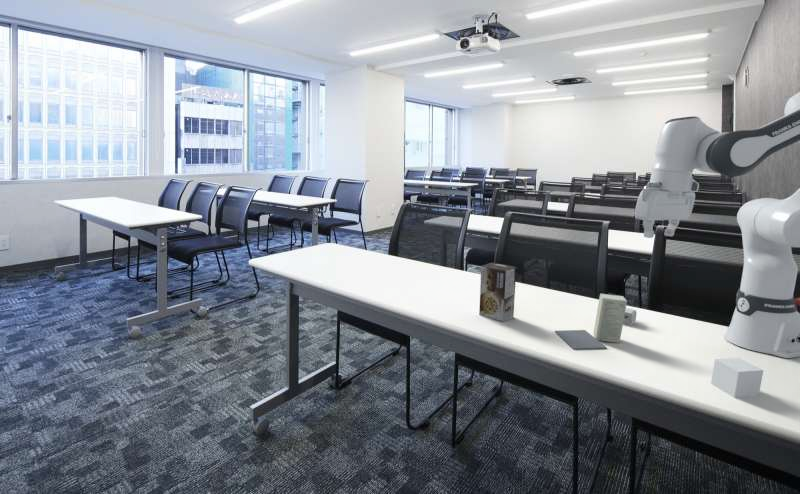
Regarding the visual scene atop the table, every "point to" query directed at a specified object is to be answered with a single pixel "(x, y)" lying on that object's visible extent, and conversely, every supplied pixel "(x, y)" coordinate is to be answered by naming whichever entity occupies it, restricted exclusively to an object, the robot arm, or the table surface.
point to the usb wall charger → (629, 317)
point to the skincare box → (610, 318)
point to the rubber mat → (580, 339)
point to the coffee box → (497, 291)
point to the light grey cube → (737, 377)
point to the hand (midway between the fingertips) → (658, 236)
